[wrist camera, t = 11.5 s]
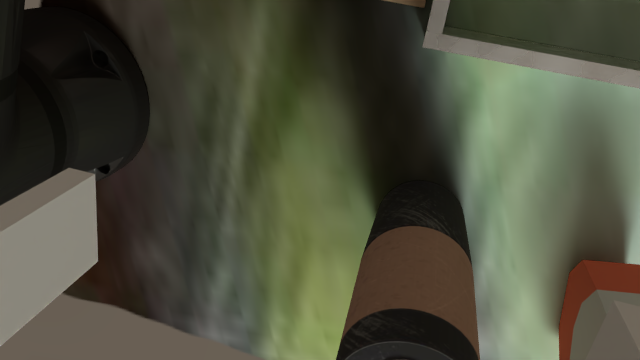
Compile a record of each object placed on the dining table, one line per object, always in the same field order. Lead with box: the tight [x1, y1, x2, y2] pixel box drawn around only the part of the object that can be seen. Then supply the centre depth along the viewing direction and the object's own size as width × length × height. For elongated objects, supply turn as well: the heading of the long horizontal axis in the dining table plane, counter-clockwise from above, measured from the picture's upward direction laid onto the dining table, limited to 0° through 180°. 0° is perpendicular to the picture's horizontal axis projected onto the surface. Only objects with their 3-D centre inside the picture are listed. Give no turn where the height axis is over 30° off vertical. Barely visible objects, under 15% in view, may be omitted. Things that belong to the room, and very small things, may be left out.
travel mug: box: [336, 181, 480, 360], centre depth 34 cm, size 8×8×20 cm
